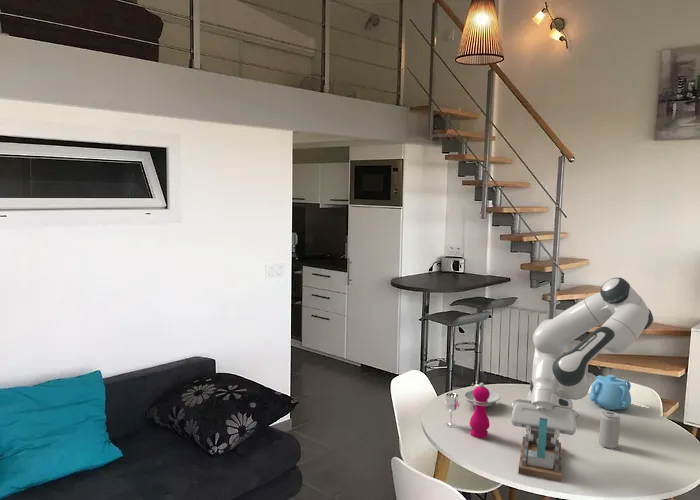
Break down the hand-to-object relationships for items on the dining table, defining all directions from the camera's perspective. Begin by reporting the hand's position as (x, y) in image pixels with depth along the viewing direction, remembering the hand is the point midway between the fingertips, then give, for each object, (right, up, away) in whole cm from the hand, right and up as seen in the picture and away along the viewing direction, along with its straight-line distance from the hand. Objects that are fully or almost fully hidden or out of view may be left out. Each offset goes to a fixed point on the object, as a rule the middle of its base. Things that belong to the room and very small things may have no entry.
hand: (541, 442), depth 189 cm
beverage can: (+32, -9, +23) cm, 40 cm away
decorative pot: (+50, -5, +63) cm, 81 cm away
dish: (-7, -4, +57) cm, 57 cm away
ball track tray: (+3, -9, +9) cm, 13 cm away
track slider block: (0, -8, +1) cm, 8 cm away
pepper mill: (-14, -7, +28) cm, 32 cm away
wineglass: (-23, -6, +36) cm, 44 cm away
